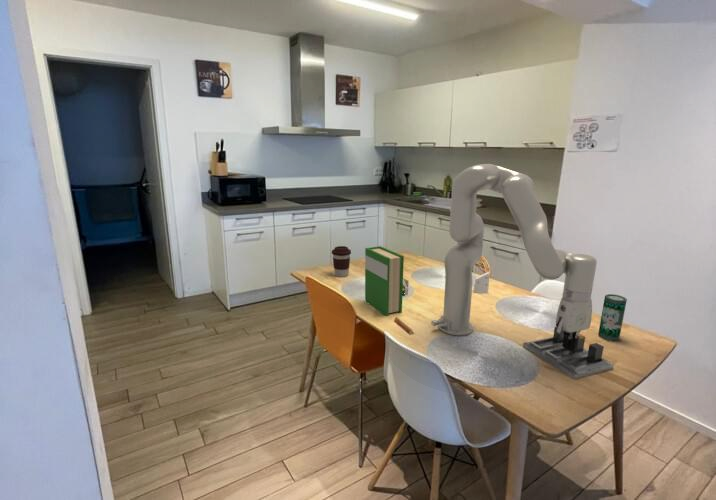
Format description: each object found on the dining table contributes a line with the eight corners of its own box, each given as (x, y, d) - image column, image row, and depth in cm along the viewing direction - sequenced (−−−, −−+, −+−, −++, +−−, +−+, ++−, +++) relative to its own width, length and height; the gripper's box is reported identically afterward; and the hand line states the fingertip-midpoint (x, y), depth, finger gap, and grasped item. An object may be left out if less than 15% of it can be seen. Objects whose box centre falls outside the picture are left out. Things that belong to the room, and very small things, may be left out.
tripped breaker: (576, 352, 123) (578, 337, 122) (569, 349, 125) (571, 334, 124) (583, 351, 124) (585, 335, 123) (576, 347, 126) (578, 332, 125)
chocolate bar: (408, 336, 138) (408, 330, 138) (393, 322, 149) (393, 317, 148) (414, 334, 139) (415, 328, 139) (398, 321, 150) (399, 316, 149)
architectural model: (402, 297, 174) (402, 282, 172) (393, 292, 180) (393, 277, 178) (408, 296, 176) (408, 280, 174) (399, 291, 181) (399, 276, 180)
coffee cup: (330, 273, 207) (329, 246, 203) (348, 271, 209) (347, 244, 206) (334, 278, 197) (334, 250, 194) (353, 277, 200) (353, 249, 196)
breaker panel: (574, 379, 112) (577, 358, 110) (522, 347, 130) (525, 328, 128) (613, 368, 117) (616, 348, 115) (558, 339, 135) (561, 321, 134)
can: (596, 336, 137) (603, 297, 133) (601, 331, 141) (608, 292, 137) (616, 342, 133) (624, 302, 129) (620, 337, 137) (628, 297, 133)
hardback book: (401, 312, 157) (403, 255, 151) (386, 316, 154) (387, 258, 148) (379, 298, 172) (380, 246, 166) (365, 301, 169) (365, 248, 163)
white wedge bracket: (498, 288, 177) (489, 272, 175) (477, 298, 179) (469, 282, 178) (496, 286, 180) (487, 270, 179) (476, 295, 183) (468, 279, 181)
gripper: (568, 302, 112) (559, 358, 117) (605, 295, 117) (595, 350, 122) (548, 293, 119) (540, 346, 124) (583, 287, 124) (575, 339, 129)
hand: (568, 348), depth 123 cm, fingers closed
